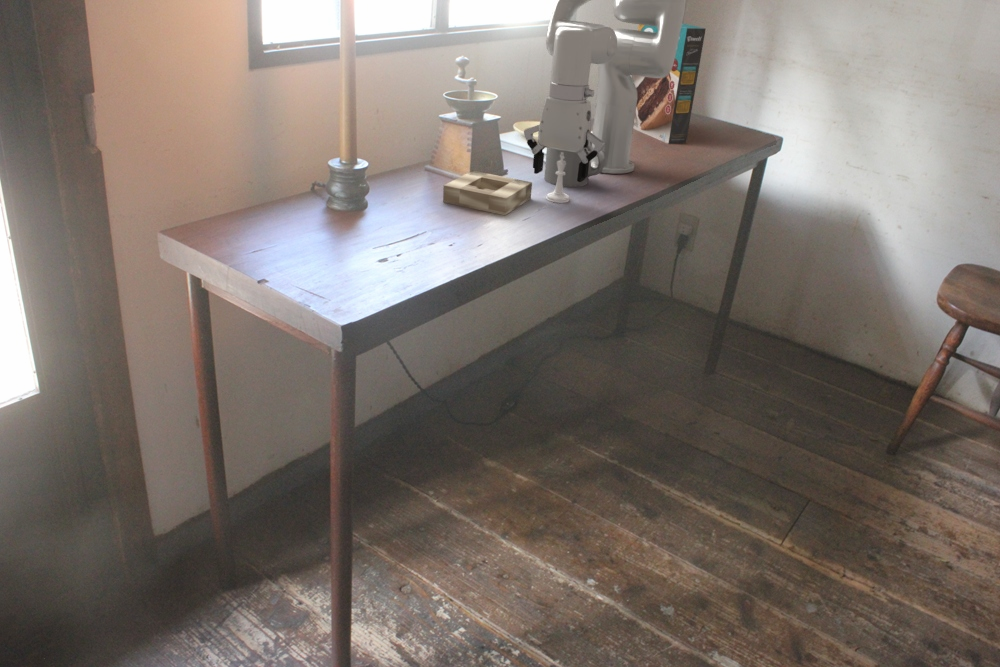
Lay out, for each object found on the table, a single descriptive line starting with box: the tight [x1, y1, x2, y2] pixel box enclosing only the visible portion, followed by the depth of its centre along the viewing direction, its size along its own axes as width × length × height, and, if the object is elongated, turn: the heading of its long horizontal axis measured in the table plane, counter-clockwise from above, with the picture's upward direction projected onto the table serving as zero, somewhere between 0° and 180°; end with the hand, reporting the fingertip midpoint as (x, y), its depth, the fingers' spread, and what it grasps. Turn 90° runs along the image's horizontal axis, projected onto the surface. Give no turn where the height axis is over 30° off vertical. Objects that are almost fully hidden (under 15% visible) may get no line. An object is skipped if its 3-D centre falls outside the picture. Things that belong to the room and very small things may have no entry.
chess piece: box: [545, 152, 570, 204], centre depth 165 cm, size 5×5×10 cm
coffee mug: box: [543, 142, 605, 188], centre depth 177 cm, size 13×10×10 cm
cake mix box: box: [631, 22, 706, 145], centre depth 221 cm, size 22×6×30 cm, turn 25°
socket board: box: [442, 170, 533, 216], centre depth 163 cm, size 13×14×4 cm
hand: (559, 176), depth 165 cm, fingers open, 9 cm apart
